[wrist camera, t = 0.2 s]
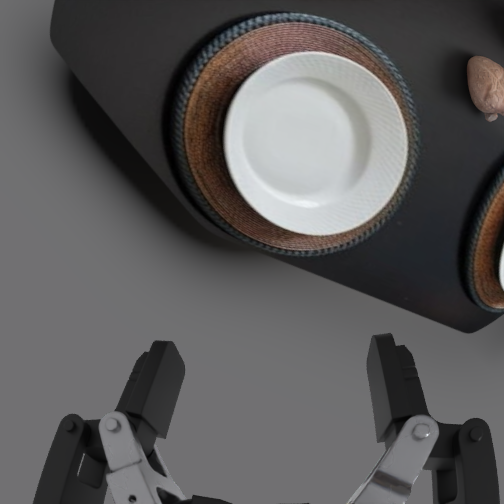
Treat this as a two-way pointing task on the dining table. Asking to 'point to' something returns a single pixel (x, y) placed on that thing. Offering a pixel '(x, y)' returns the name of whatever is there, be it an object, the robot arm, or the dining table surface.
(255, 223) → the dining table surface
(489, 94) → the brown rounded lump
